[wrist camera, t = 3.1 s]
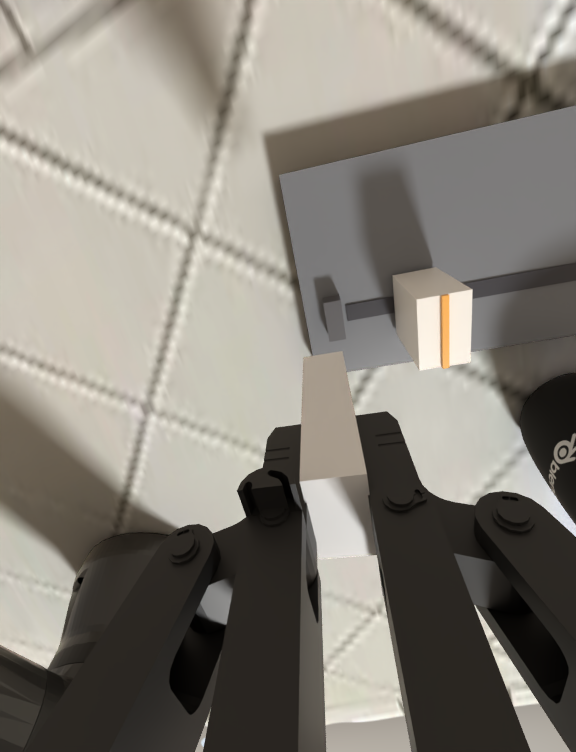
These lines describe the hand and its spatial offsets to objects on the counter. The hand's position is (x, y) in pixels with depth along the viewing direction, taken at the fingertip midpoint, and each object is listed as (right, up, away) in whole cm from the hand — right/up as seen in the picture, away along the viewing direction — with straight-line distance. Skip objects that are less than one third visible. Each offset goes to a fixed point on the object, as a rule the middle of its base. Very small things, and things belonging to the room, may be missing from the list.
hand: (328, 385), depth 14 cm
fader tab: (+6, +5, +7) cm, 10 cm away
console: (+14, +9, +7) cm, 18 cm away
